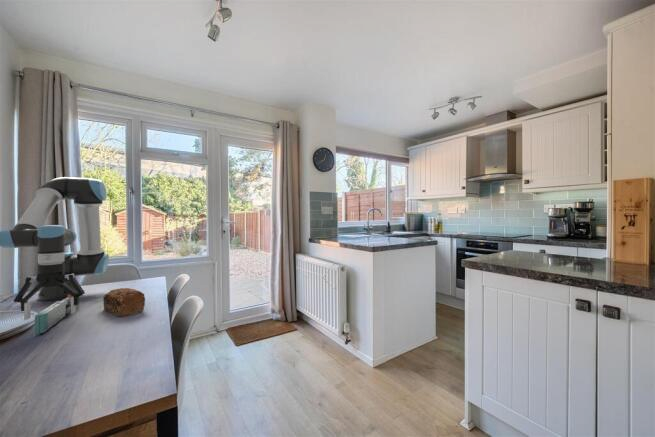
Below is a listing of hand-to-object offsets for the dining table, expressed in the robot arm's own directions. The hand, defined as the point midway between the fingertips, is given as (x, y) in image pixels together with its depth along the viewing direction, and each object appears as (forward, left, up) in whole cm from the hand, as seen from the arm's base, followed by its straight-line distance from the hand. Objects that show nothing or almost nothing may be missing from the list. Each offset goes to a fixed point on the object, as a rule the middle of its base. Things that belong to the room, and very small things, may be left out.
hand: (51, 315), depth 107 cm
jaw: (0, +2, -2) cm, 3 cm away
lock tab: (-18, +1, +1) cm, 18 cm away
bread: (-6, +23, -4) cm, 24 cm away
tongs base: (-4, +1, -3) cm, 5 cm away
